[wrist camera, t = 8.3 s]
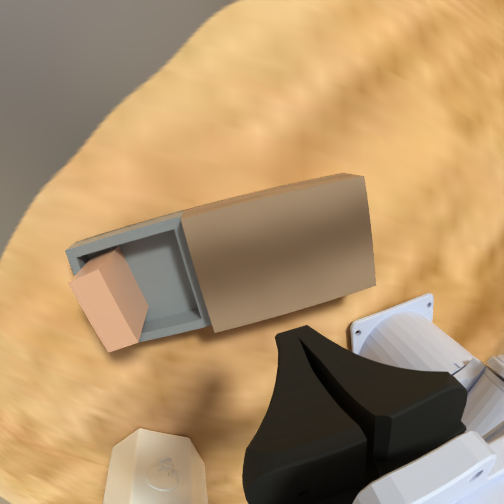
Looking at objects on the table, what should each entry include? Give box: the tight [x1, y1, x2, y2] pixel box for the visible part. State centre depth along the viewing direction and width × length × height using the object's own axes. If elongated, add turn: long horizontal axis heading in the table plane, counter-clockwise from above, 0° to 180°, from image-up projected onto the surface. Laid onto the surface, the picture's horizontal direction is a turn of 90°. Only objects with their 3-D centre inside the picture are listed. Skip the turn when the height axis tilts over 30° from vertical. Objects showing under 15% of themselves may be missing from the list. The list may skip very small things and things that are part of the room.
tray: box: [65, 211, 212, 343], centre depth 19 cm, size 7×8×2 cm
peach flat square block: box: [68, 245, 149, 353], centre depth 18 cm, size 4×4×2 cm
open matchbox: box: [181, 173, 376, 333], centre depth 20 cm, size 7×10×3 cm, turn 102°
